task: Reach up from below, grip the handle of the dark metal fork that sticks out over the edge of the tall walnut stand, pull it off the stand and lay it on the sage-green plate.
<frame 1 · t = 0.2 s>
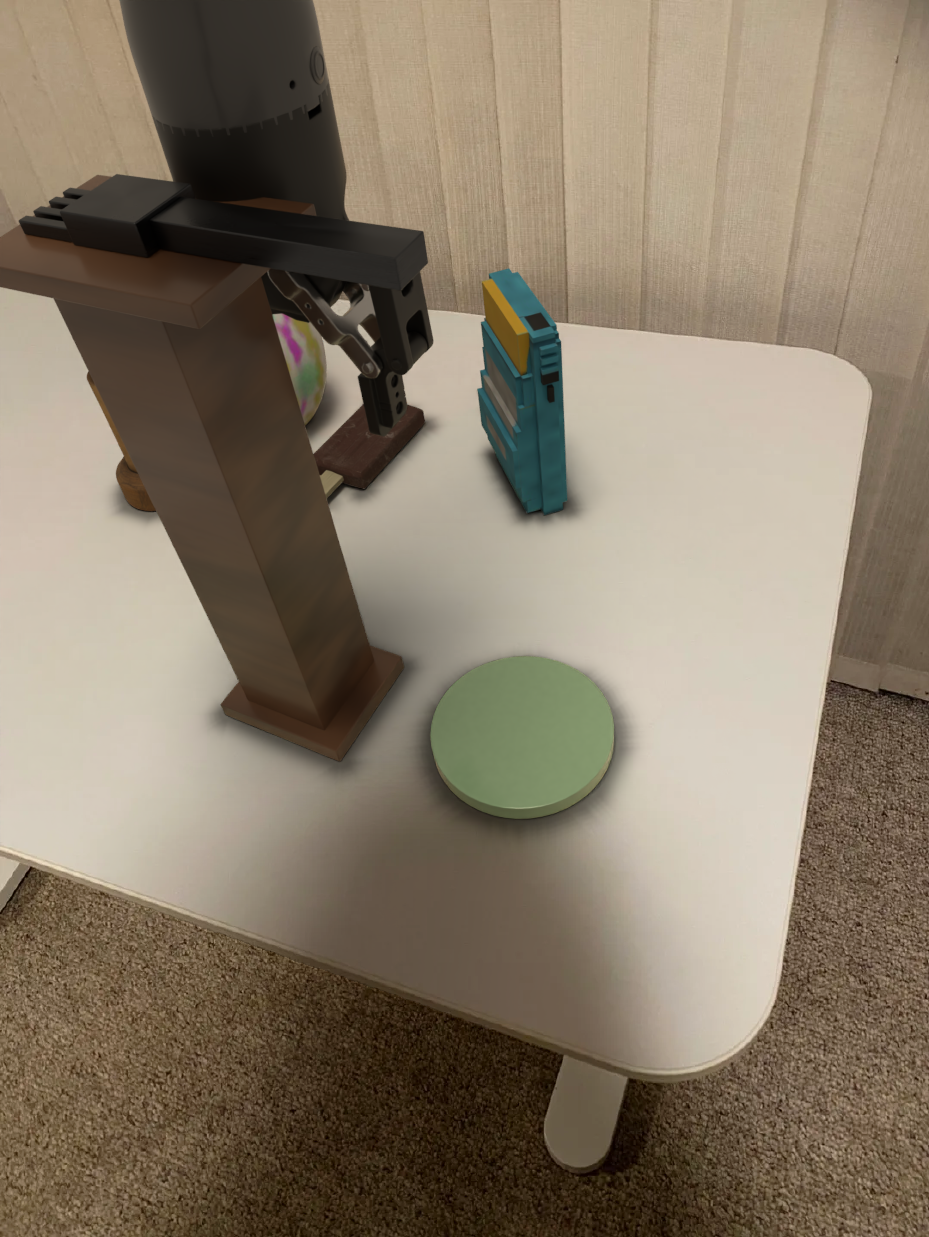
hand: (321, 409, 50), 18 cm above the table, tool pointing down, fingers open, 8 cm apart
stand: (315, 691, 60), on the table
fork: (215, 244, 36), point 31 cm above the table, touching stand
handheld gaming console: (526, 480, 72), on the table
decorative egg: (270, 417, 82), on the table
plate: (522, 738, 56), on the table
ice cream bar: (356, 464, 76), on the table
mortar and pestle: (165, 486, 77), on the table
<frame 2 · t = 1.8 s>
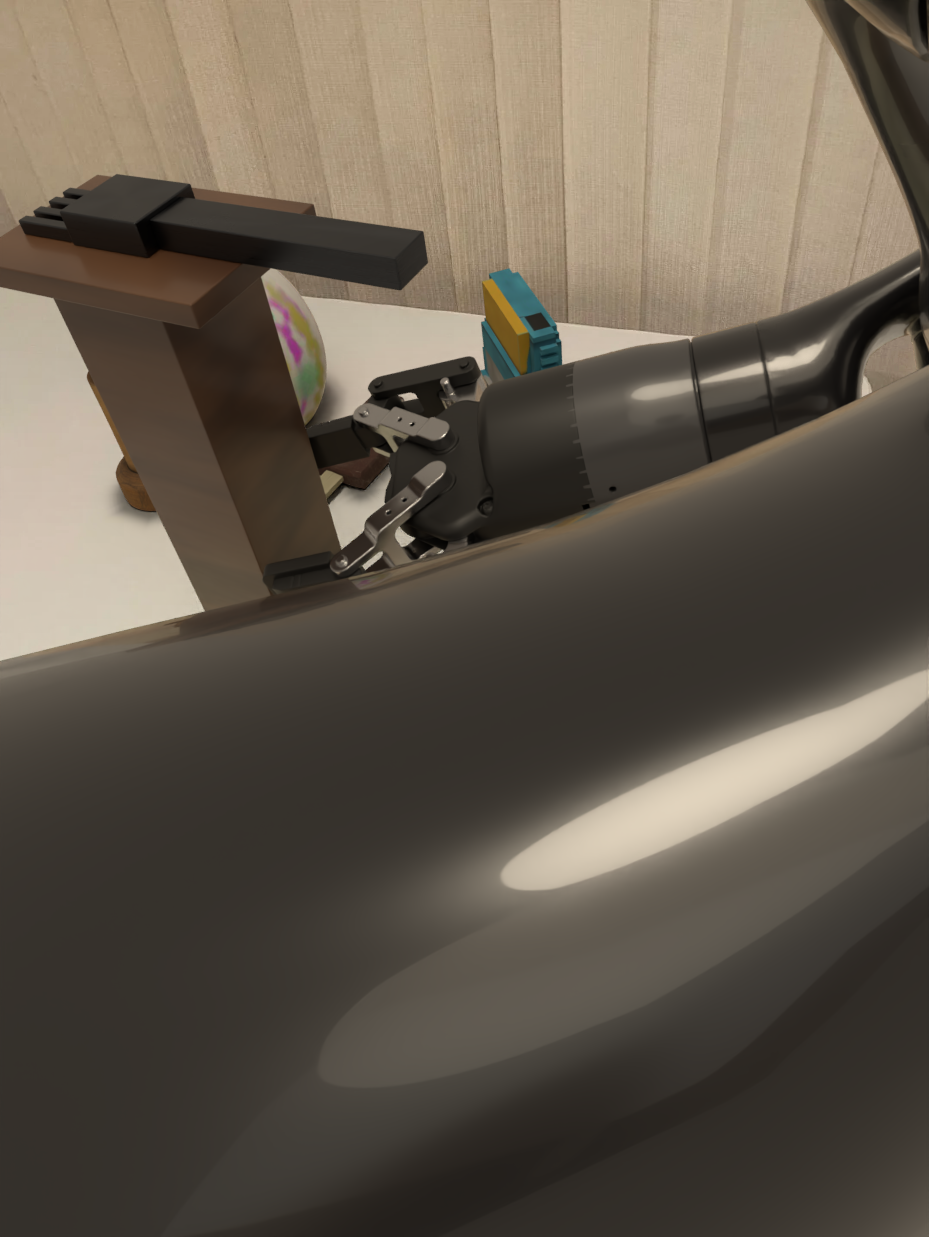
hand: (285, 516, 46), 17 cm above the table, tool horizontal, fingers open, 8 cm apart
nothing on the table moved.
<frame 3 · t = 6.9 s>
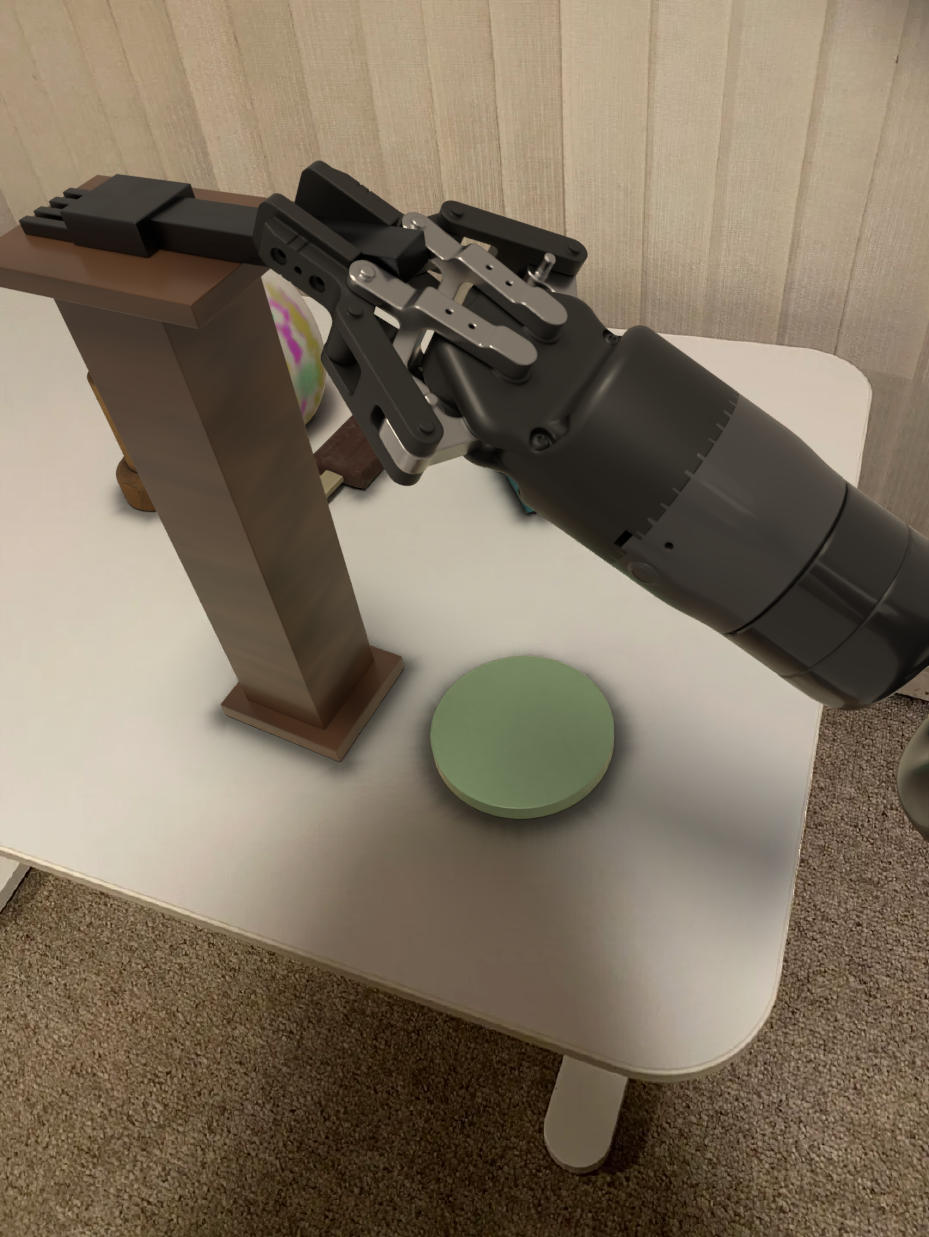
hand: (283, 202, 33), 33 cm above the table, tool pointing upward, fingers closed on fork
fork: (215, 244, 36), point 31 cm above the table, touching gripper, stand
everything else where it was.
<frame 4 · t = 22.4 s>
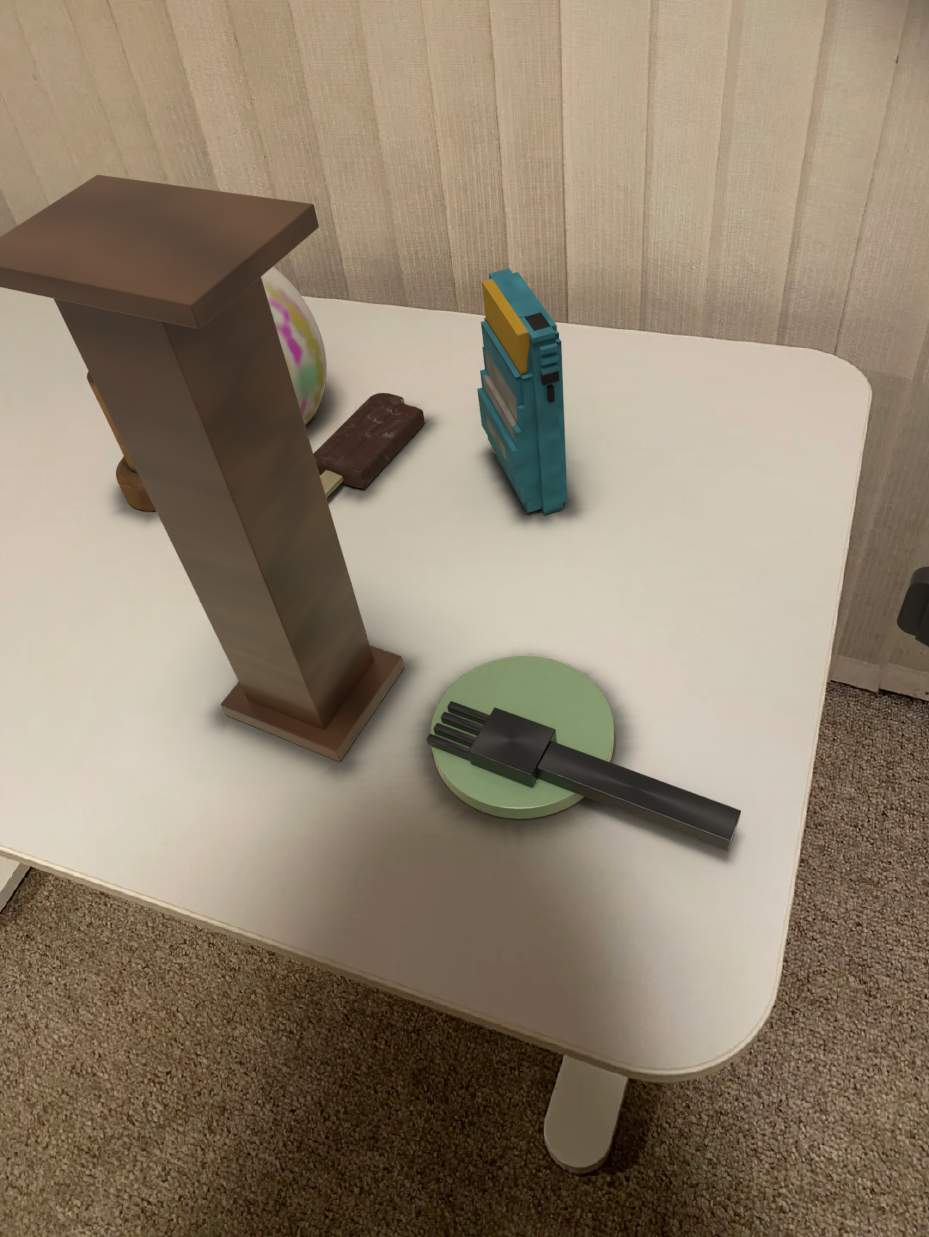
fork: (576, 777, 53), point 1 cm above the table, touching plate
everything else where it was.
at the end: fork inside the target area on the plate (4.8 cm from its centre), point 1.2 cm above the plate's base; fork touching plate; the gripper is holding nothing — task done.
